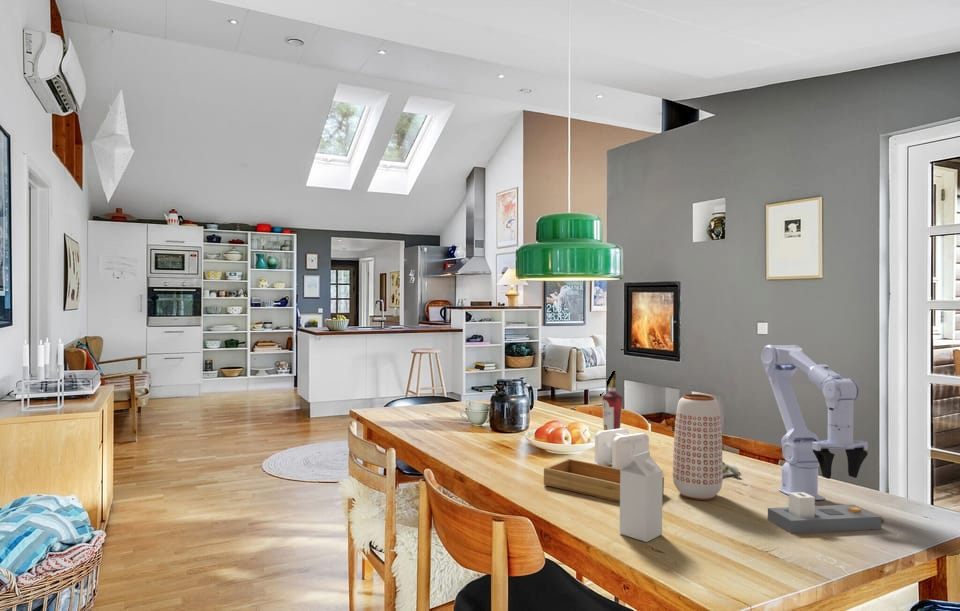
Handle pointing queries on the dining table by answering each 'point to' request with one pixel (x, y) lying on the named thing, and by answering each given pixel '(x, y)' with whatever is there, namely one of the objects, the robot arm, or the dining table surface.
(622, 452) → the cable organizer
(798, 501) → the block
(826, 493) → the dining table surface
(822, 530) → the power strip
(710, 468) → the patterned ceramic vase
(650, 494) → the milk carton
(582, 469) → the tray
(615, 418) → the liquor
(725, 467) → the salad plate
